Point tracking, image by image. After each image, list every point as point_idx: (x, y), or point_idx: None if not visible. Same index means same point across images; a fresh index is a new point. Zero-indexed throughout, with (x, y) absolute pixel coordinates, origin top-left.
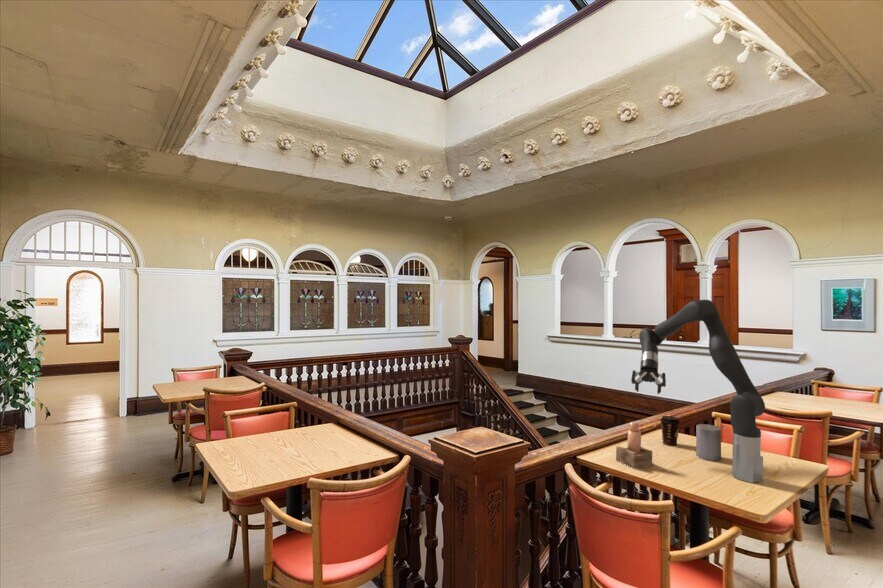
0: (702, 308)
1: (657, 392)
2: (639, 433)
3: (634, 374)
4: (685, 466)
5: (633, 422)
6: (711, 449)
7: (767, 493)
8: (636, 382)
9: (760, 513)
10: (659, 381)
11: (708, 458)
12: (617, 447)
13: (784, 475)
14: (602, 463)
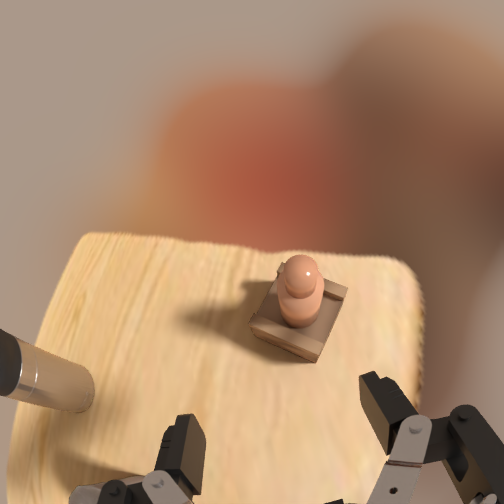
0: None
1: (197, 422)
2: (278, 278)
3: (492, 475)
4: (182, 393)
5: (307, 274)
6: (120, 479)
7: (59, 323)
8: (412, 421)
9: (85, 235)
10: (155, 500)
11: (139, 476)
12: (343, 286)
13: (32, 442)
14: (356, 262)
